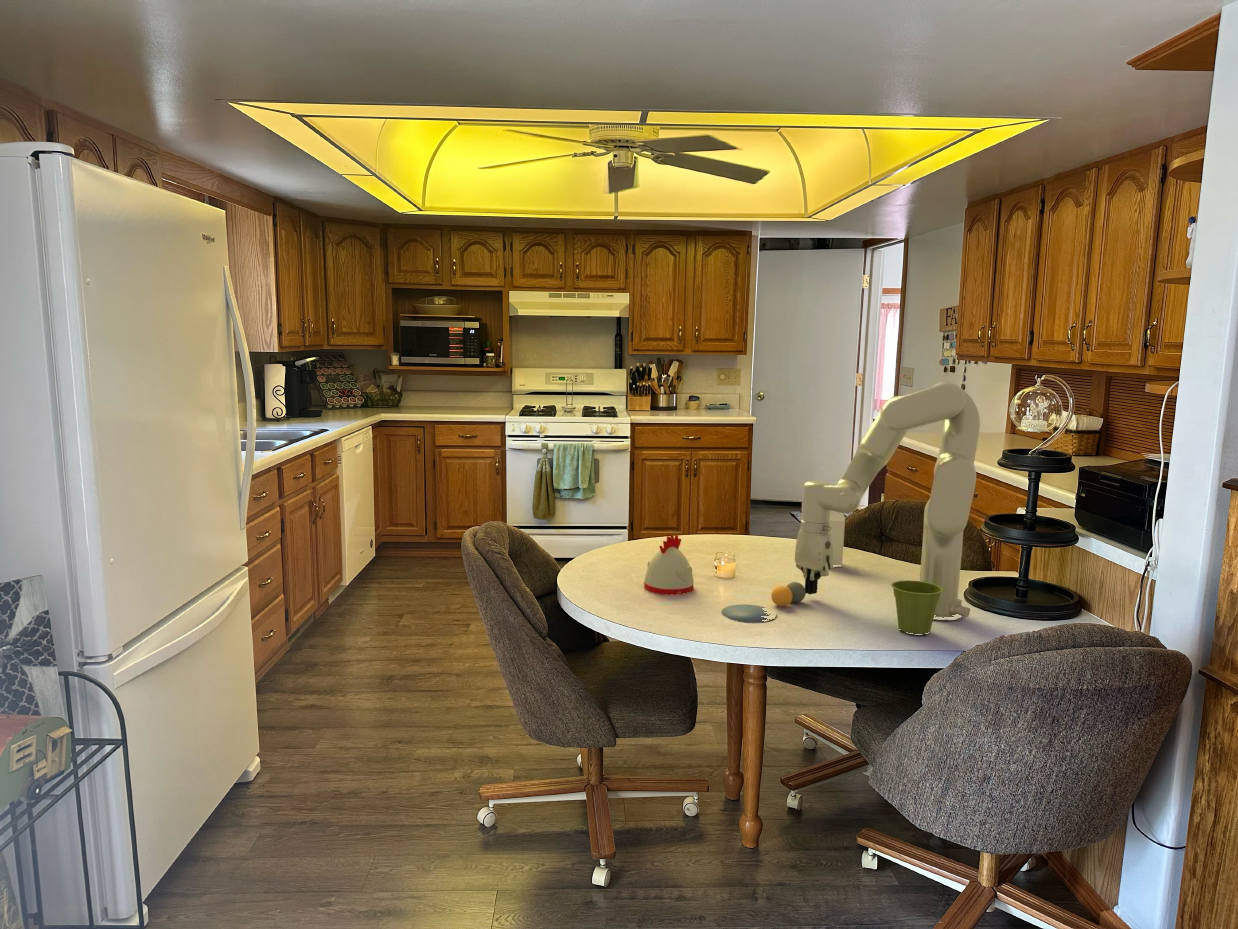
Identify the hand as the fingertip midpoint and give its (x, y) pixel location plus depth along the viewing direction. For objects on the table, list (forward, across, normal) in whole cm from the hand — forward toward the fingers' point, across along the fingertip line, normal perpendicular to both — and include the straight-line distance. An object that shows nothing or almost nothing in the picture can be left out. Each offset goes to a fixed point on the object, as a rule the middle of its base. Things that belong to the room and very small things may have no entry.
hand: (810, 593), depth 226 cm
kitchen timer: (+2, +28, +26) cm, 39 cm away
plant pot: (+2, -31, -2) cm, 31 cm away
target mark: (+2, 0, +23) cm, 23 cm away
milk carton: (+2, +22, -32) cm, 39 cm away
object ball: (-1, 0, +12) cm, 12 cm away
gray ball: (-1, 0, +6) cm, 6 cm away
